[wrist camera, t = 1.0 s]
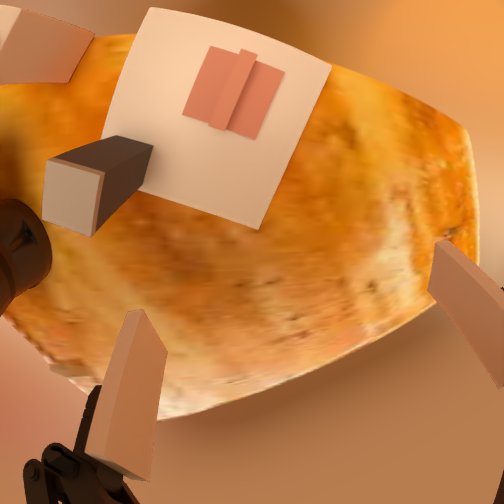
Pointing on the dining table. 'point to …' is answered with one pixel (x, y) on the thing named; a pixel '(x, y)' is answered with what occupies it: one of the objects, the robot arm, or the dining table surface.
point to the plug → (93, 182)
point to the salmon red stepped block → (233, 91)
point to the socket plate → (198, 132)
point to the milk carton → (38, 47)
